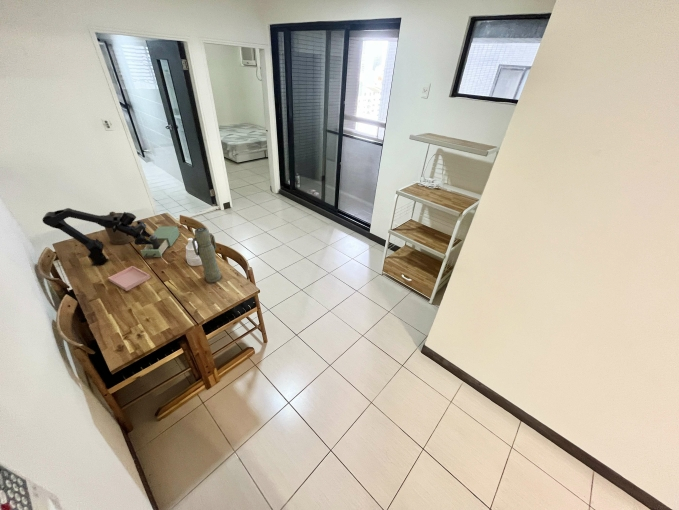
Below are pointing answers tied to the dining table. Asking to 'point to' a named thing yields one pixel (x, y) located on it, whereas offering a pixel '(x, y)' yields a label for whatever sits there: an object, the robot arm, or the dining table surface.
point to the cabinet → (167, 233)
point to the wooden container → (118, 232)
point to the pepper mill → (154, 242)
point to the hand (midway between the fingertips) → (152, 240)
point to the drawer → (151, 253)
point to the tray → (129, 278)
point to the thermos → (207, 254)
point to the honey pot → (192, 254)
